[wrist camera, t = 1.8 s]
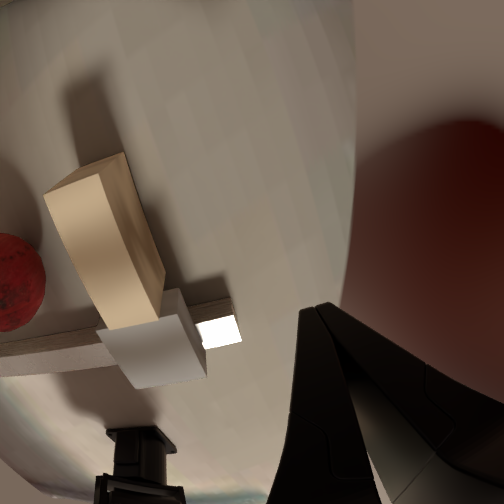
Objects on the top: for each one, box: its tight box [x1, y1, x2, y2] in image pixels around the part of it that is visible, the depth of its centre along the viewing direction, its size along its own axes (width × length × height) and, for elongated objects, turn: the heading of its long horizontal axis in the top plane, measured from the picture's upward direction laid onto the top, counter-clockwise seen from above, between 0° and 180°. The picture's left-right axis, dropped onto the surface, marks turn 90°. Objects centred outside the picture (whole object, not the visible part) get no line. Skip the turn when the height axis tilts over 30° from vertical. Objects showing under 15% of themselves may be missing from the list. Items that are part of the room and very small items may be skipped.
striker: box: [43, 152, 207, 389], centre depth 17 cm, size 14×5×5 cm, turn 11°
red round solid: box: [0, 233, 46, 332], centre depth 14 cm, size 6×6×8 cm
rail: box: [0, 297, 241, 377], centre depth 21 cm, size 2×31×2 cm, turn 101°
